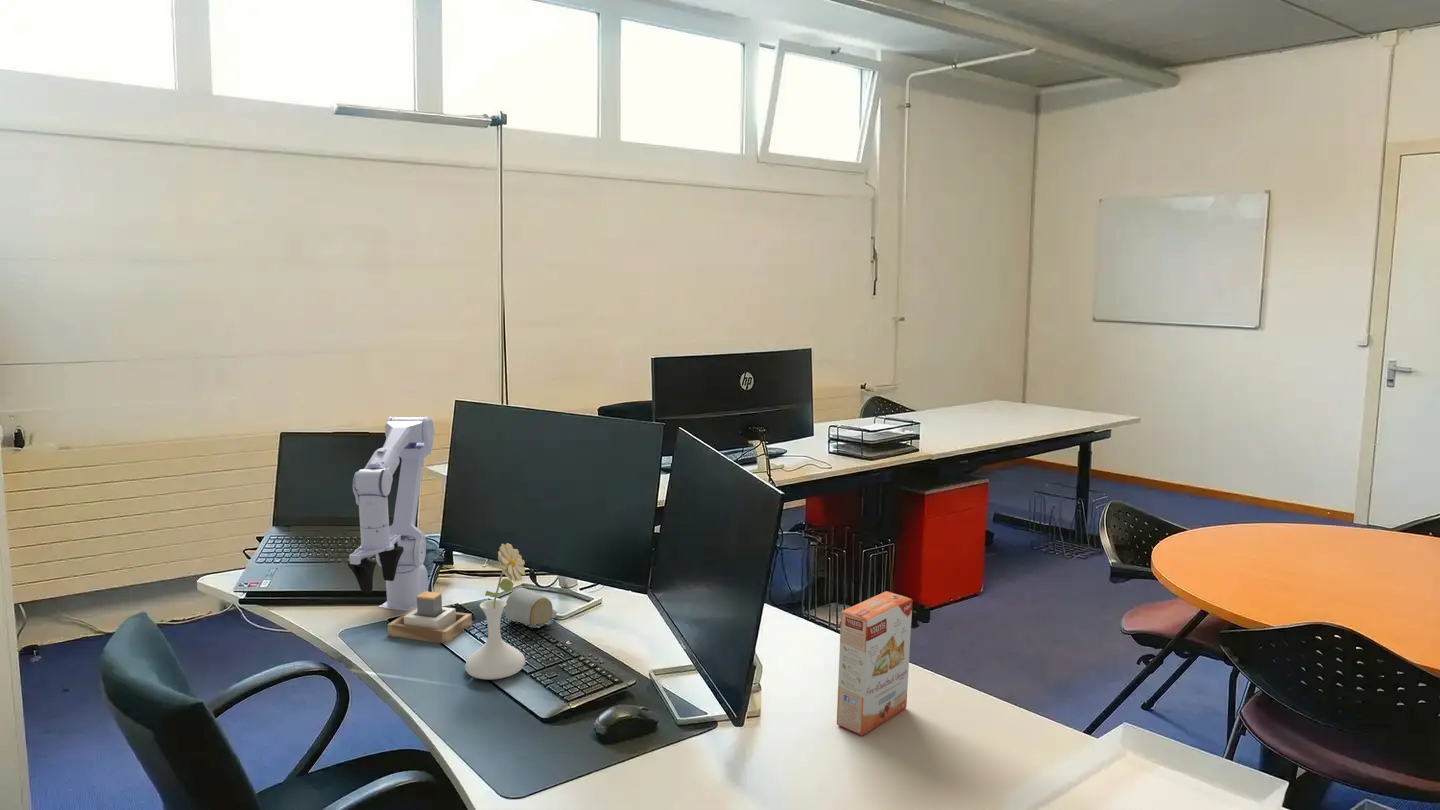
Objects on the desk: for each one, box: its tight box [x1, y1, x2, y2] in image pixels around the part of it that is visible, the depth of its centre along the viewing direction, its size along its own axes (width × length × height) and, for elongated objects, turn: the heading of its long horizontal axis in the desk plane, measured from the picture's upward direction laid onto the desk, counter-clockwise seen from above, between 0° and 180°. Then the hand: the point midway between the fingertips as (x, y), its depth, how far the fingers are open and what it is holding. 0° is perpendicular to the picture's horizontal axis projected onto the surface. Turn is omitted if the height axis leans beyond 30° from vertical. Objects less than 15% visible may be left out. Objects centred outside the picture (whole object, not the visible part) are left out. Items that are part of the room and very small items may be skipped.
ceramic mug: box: [504, 587, 558, 625], centre depth 197 cm, size 11×8×8 cm
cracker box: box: [836, 590, 914, 736], centre depth 155 cm, size 14×6×21 cm, turn 136°
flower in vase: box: [464, 542, 526, 680], centre depth 172 cm, size 13×11×25 cm
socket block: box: [404, 606, 457, 630], centre depth 191 cm, size 7×8×4 cm
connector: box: [416, 591, 443, 618], centre depth 191 cm, size 3×4×7 cm
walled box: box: [386, 606, 473, 645], centre depth 191 cm, size 10×14×3 cm
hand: (378, 586), depth 191 cm, fingers open, 7 cm apart
